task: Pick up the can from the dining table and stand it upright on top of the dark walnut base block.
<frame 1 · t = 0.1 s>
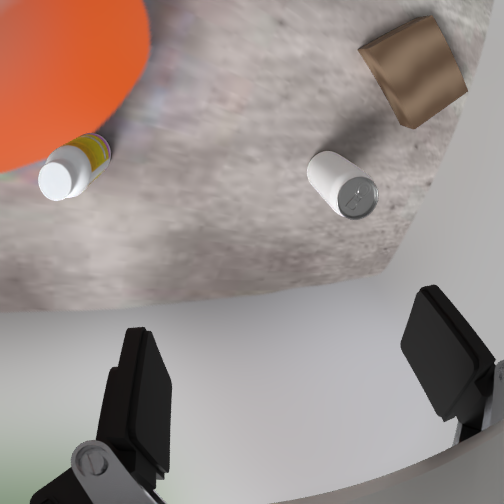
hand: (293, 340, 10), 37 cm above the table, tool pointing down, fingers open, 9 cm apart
base: (411, 69, 38), on the table
supplement bottle: (92, 153, 40), on the table
can: (325, 170, 46), on the table
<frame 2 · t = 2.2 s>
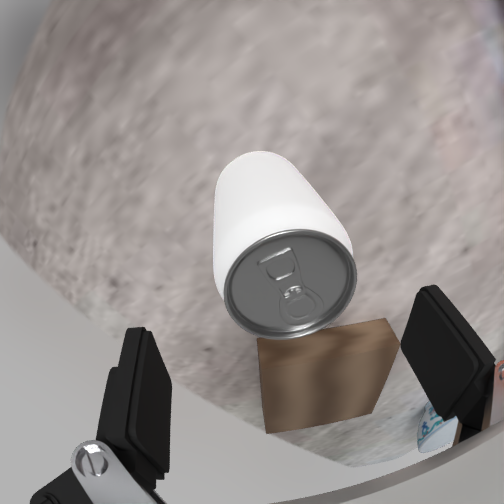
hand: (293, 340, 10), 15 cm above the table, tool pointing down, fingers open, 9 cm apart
base: (319, 370, 34), on the table
can: (258, 191, 23), on the table
chinaware: (439, 398, 46), on the table
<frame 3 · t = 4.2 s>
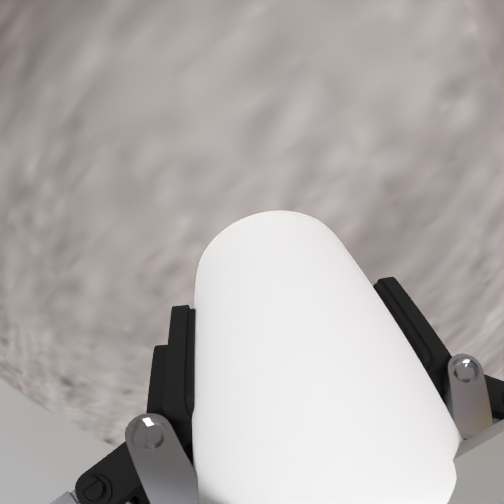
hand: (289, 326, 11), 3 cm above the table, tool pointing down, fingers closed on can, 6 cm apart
can: (270, 273, 14), on the table, touching gripper
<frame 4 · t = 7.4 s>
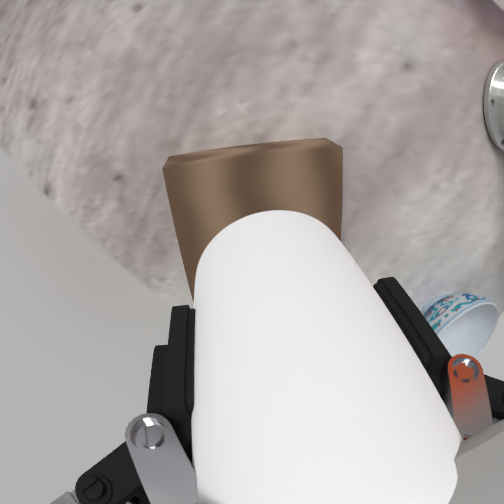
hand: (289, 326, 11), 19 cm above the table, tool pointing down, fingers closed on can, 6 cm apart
base: (256, 217, 30), on the table
can: (270, 273, 14), point 16 cm above the table, touching gripper
chinaware: (434, 310, 41), on the table
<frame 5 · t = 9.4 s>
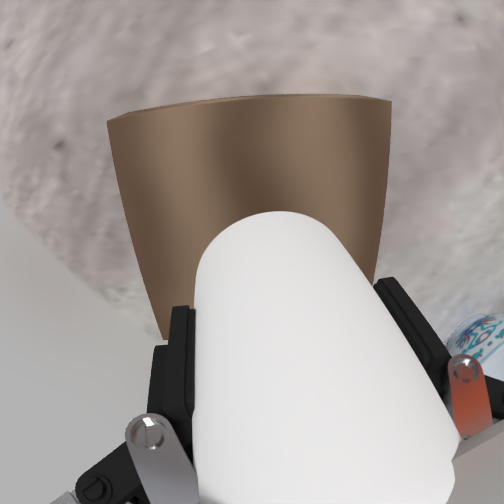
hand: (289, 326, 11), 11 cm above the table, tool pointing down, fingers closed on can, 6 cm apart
base: (254, 205, 20), on the table
can: (270, 273, 14), point 8 cm above the table, touching gripper
chinaware: (466, 332, 32), on the table
when the fingers open (8 cm above the table, at t = 10.8 s): can drops 1 cm, resting on base.
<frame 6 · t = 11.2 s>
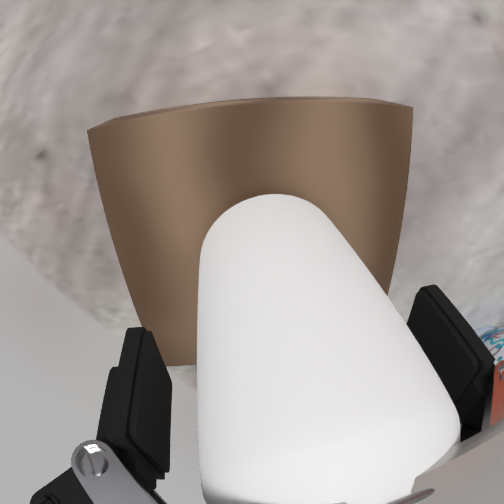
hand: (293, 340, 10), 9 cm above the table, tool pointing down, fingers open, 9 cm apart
base: (256, 221, 18), on the table
can: (269, 253, 15), point 4 cm above the table, touching base
chinaware: (473, 344, 30), on the table
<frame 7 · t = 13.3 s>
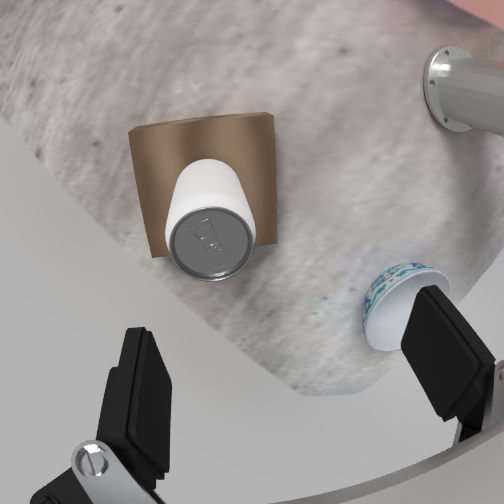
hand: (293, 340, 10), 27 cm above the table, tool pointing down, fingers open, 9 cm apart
base: (206, 178, 34), on the table
can: (207, 188, 31), point 4 cm above the table, touching base
chinaware: (387, 283, 47), on the table
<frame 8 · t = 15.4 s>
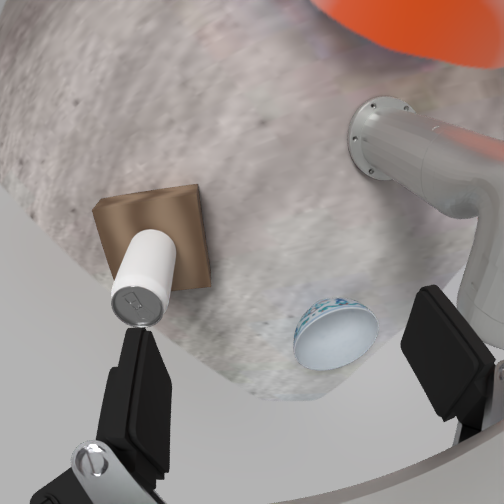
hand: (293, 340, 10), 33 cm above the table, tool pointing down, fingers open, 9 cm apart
base: (156, 236, 44), on the table
can: (153, 248, 41), point 4 cm above the table, touching base
chinaware: (324, 311, 56), on the table
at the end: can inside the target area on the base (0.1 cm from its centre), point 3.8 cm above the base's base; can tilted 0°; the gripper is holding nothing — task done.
